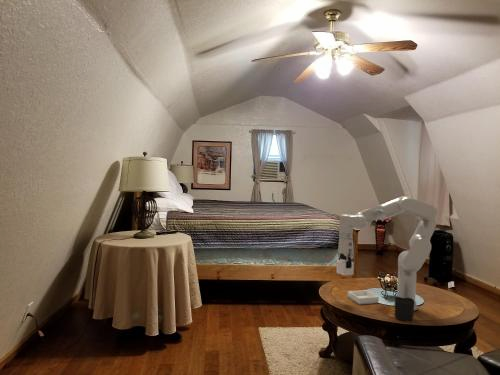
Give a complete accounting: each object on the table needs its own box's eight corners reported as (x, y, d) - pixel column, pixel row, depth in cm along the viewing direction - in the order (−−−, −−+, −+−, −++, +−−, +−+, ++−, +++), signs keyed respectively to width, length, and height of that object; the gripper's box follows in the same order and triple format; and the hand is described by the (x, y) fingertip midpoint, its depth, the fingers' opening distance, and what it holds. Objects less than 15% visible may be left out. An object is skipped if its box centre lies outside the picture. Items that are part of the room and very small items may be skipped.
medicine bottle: (353, 274, 220) (354, 253, 219) (343, 275, 217) (343, 254, 217) (346, 271, 227) (346, 251, 226) (336, 272, 224) (336, 252, 223)
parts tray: (378, 302, 222) (378, 297, 222) (358, 304, 219) (359, 298, 219) (366, 295, 234) (366, 290, 234) (347, 297, 231) (347, 291, 231)
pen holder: (406, 323, 194) (407, 303, 193) (390, 317, 201) (391, 298, 201) (417, 319, 199) (418, 300, 199) (400, 313, 207) (401, 295, 206)
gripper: (359, 238, 214) (359, 269, 214) (344, 233, 230) (343, 262, 231) (347, 238, 211) (347, 270, 212) (332, 233, 228) (331, 263, 229)
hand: (345, 266), depth 222 cm, fingers closed on medicine bottle, 7 cm apart
